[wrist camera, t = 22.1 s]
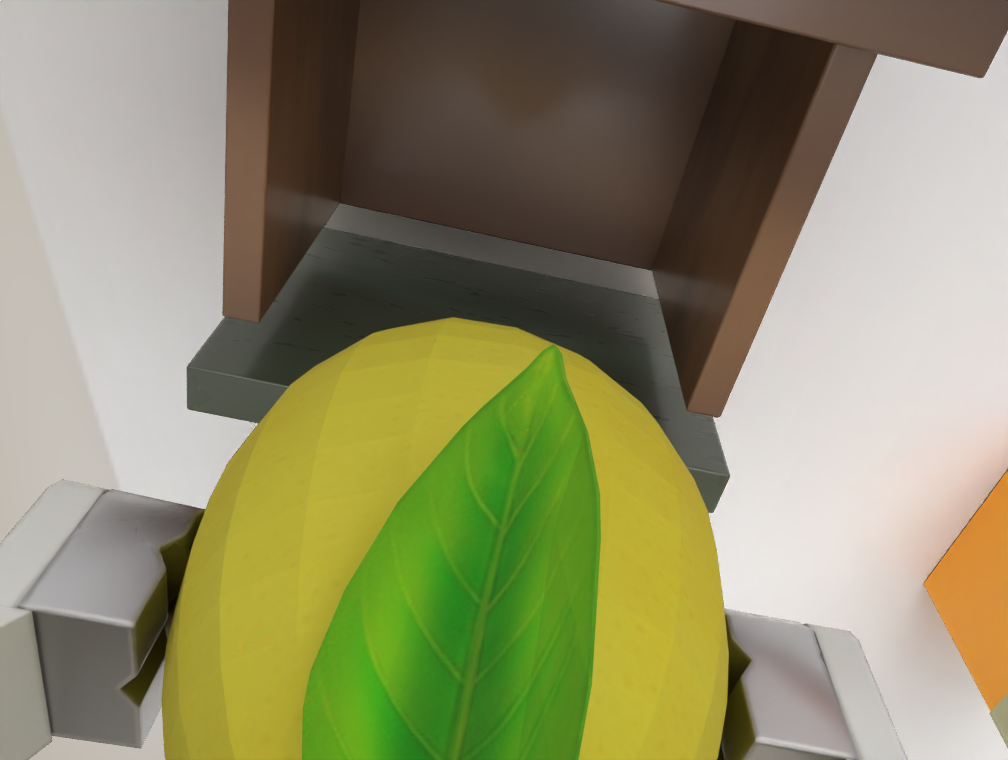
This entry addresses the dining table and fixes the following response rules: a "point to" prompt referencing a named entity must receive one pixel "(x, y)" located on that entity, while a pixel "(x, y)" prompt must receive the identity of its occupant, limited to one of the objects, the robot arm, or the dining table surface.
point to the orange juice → (979, 600)
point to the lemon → (451, 568)
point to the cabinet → (884, 26)
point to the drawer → (519, 186)
